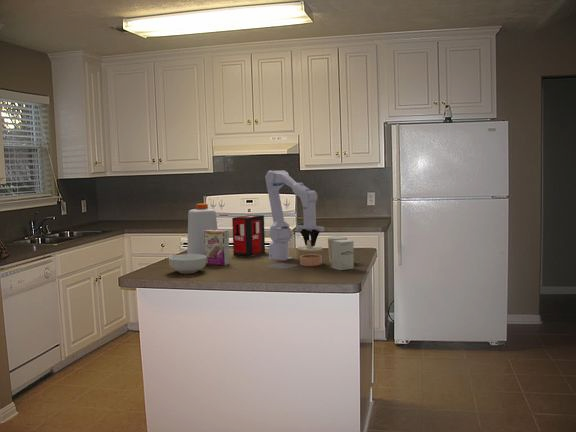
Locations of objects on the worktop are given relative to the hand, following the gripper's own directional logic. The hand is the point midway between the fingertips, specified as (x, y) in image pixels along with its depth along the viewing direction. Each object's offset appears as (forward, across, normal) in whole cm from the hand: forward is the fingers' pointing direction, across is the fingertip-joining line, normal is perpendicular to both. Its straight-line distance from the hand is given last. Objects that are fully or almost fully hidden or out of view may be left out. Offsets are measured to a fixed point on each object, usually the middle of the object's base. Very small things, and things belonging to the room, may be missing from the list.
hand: (310, 245), depth 268 cm
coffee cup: (+9, +8, +11) cm, 16 cm away
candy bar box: (+9, -40, -21) cm, 46 cm away
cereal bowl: (+9, -38, -42) cm, 57 cm away
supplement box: (+9, +18, -1) cm, 20 cm away
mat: (+9, -9, -11) cm, 17 cm away
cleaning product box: (+9, -46, +10) cm, 48 cm away
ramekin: (+9, 0, 0) cm, 9 cm away
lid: (+2, 0, 0) cm, 2 cm away
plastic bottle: (+9, -58, -12) cm, 60 cm away
